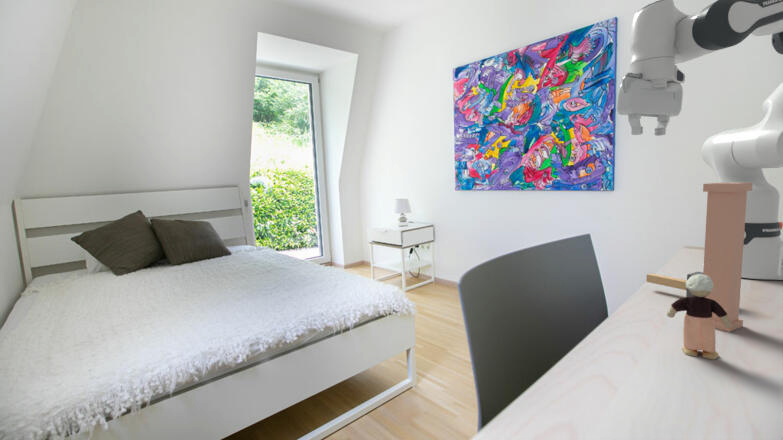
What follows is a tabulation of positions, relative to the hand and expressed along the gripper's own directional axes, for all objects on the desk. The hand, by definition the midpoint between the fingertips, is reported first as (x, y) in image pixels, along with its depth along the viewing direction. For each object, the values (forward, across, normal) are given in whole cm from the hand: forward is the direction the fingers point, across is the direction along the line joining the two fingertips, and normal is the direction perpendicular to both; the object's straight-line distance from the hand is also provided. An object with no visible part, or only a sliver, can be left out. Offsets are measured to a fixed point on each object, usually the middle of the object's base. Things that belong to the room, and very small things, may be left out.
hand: (648, 135), depth 90 cm
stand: (+37, -14, -21) cm, 45 cm away
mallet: (+37, -3, -9) cm, 38 cm away
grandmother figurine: (+37, -30, -25) cm, 54 cm away
